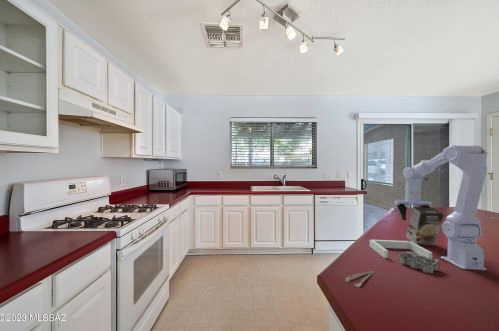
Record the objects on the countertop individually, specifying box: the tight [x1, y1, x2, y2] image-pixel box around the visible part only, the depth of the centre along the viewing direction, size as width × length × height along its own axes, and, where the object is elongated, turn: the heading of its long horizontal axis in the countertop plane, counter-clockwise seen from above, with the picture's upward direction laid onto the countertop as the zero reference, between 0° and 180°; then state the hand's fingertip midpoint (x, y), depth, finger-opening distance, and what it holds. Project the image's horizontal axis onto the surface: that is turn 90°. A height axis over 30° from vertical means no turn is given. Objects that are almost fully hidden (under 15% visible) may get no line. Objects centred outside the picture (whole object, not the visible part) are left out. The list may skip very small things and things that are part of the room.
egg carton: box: [397, 251, 439, 274], centre depth 77 cm, size 11×8×4 cm
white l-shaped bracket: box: [368, 239, 433, 259], centre depth 88 cm, size 12×17×3 cm
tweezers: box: [344, 270, 375, 288], centre depth 69 cm, size 17×5×2 cm, turn 125°
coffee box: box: [406, 206, 445, 246], centre depth 98 cm, size 9×6×16 cm
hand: (412, 220), depth 102 cm, fingers open, 7 cm apart
